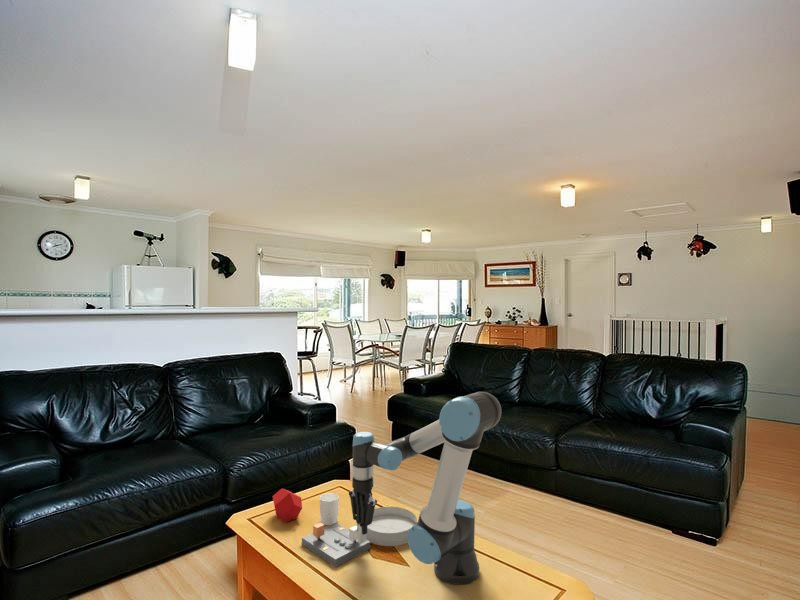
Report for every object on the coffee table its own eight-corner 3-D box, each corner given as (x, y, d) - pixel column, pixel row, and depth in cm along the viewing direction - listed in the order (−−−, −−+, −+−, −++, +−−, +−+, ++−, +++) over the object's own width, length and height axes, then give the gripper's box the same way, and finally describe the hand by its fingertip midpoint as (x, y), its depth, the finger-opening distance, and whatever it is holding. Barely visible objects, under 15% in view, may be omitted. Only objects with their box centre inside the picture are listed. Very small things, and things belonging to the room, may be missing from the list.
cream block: (360, 540, 170) (360, 527, 170) (353, 544, 167) (353, 530, 167) (355, 538, 171) (356, 525, 171) (349, 541, 169) (349, 528, 169)
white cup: (340, 517, 193) (340, 493, 193) (336, 526, 185) (336, 501, 185) (322, 516, 194) (322, 492, 194) (316, 525, 186) (317, 500, 186)
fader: (324, 537, 172) (324, 524, 171) (317, 541, 169) (317, 527, 169) (320, 535, 173) (320, 522, 173) (313, 538, 171) (313, 525, 171)
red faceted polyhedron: (277, 531, 185) (262, 506, 196) (304, 523, 193) (288, 500, 204) (284, 506, 183) (268, 482, 193) (310, 499, 191) (294, 477, 201)
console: (370, 548, 170) (370, 540, 169) (335, 566, 158) (335, 557, 158) (335, 529, 183) (335, 521, 183) (301, 544, 172) (301, 536, 172)
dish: (351, 540, 176) (352, 527, 175) (373, 514, 196) (373, 503, 196) (407, 551, 168) (407, 537, 168) (424, 523, 189) (424, 511, 189)
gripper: (383, 478, 165) (382, 544, 165) (358, 468, 174) (358, 531, 174) (367, 484, 159) (366, 552, 159) (343, 474, 168) (342, 538, 168)
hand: (362, 541), depth 167 cm, fingers closed
